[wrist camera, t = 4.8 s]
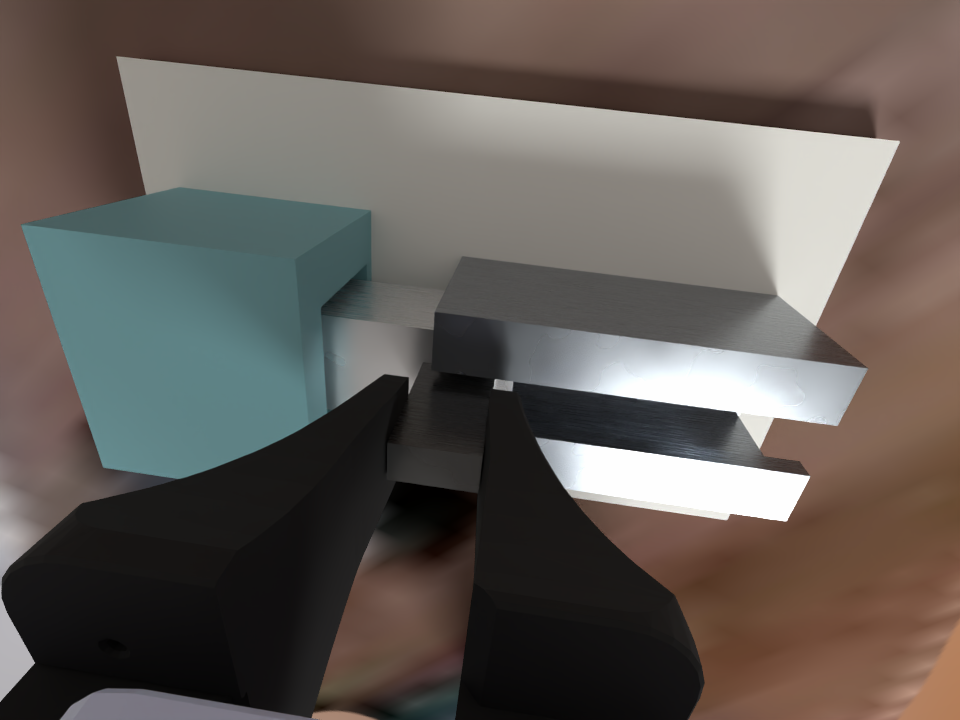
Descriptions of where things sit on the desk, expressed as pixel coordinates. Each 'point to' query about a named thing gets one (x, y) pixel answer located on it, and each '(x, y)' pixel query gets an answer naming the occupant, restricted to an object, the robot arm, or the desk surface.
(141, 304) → the socket
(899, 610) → the desk surface
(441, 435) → the bar
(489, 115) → the base board
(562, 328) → the grey rail guide
